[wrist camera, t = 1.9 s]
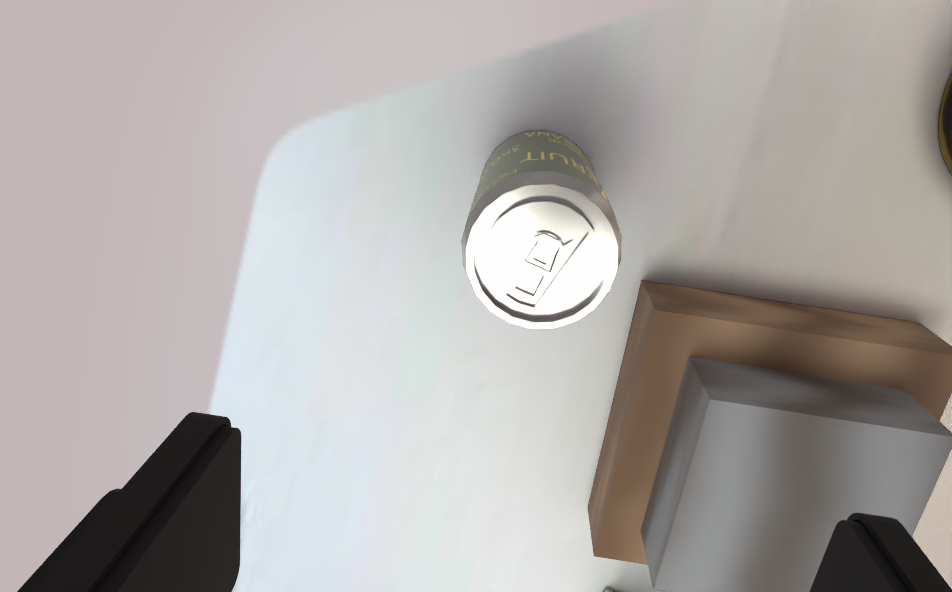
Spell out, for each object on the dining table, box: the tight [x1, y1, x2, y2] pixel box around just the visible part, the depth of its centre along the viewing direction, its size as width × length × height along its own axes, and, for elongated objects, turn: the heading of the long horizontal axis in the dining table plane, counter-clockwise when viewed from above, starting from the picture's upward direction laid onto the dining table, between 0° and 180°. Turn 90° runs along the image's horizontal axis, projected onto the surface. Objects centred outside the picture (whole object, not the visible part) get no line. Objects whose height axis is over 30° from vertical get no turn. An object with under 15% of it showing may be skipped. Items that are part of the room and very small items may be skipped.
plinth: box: [588, 281, 952, 592], centre depth 34 cm, size 14×14×8 cm
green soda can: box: [462, 130, 621, 329], centre depth 28 cm, size 5×5×12 cm
